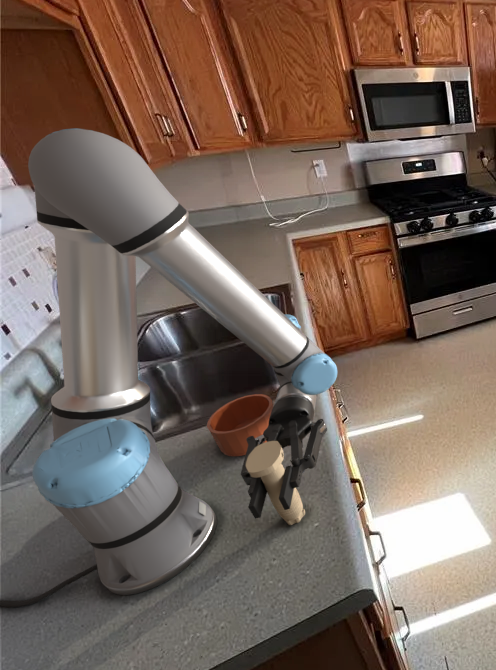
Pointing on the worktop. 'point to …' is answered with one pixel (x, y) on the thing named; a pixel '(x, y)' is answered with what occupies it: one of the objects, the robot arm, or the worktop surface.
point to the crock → (240, 423)
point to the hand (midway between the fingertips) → (269, 507)
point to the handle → (274, 478)
